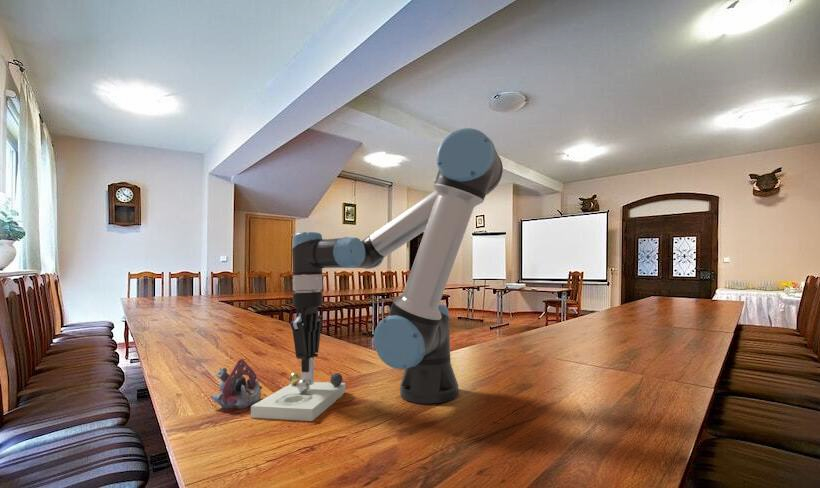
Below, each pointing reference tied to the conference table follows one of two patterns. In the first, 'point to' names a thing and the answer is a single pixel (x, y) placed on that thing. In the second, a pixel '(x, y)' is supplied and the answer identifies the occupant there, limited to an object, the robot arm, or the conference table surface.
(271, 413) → the board
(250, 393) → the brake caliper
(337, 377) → the dark grey ball
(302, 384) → the steel ball
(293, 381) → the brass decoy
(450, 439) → the conference table surface
